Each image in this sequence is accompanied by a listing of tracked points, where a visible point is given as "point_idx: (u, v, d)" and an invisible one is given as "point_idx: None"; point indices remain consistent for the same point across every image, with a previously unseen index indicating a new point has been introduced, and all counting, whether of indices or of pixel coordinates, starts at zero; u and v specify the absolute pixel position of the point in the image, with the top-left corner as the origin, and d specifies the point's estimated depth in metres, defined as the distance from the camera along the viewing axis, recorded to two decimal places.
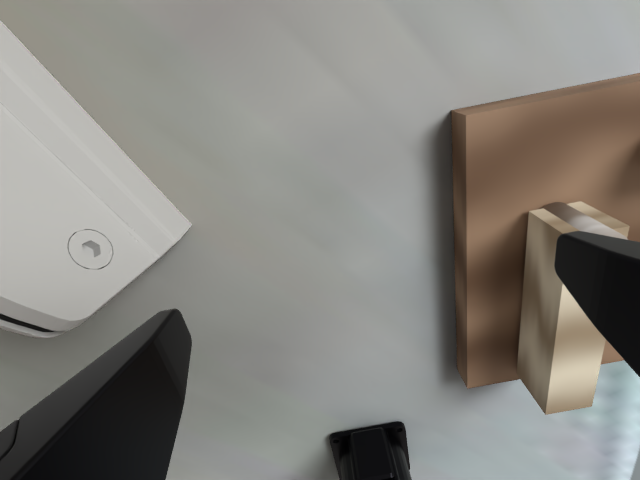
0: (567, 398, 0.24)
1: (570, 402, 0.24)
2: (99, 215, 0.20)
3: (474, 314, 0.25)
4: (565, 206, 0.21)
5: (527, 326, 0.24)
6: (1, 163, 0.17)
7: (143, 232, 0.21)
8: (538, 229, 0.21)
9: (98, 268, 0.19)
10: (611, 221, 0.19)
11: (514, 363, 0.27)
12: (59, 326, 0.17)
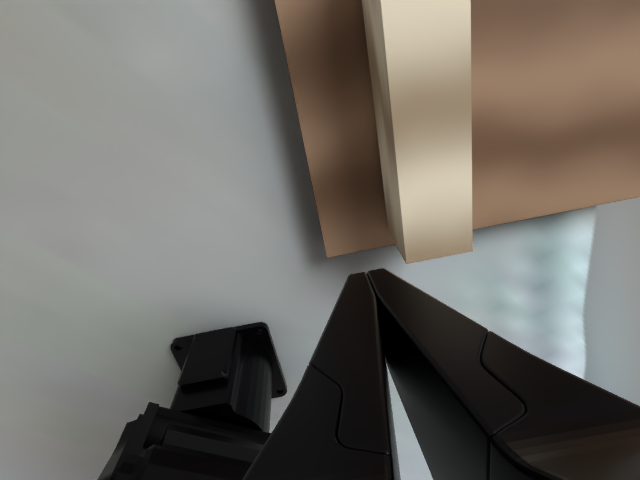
0: (433, 235, 0.16)
1: (439, 242, 0.17)
2: None
3: (311, 130, 0.18)
4: None
5: (381, 139, 0.17)
6: None
7: None
8: None
9: None
10: None
11: (385, 217, 0.20)
12: None
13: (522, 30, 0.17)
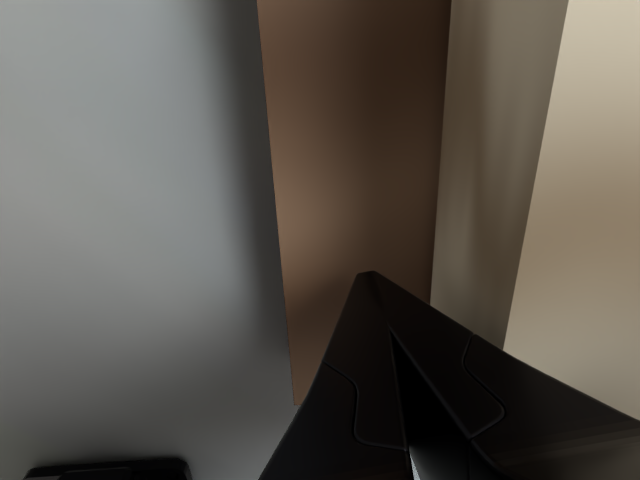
0: None
1: None
2: None
3: (296, 193, 0.09)
4: None
5: (448, 241, 0.08)
6: None
7: None
8: None
9: None
10: None
11: None
12: None
13: None
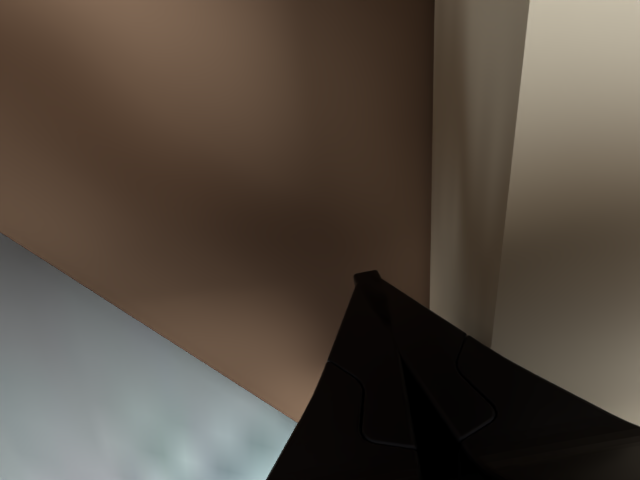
0: None
1: None
2: None
3: None
4: None
5: (441, 239, 0.08)
6: None
7: None
8: None
9: None
10: None
11: (84, 220, 0.09)
12: None
13: None
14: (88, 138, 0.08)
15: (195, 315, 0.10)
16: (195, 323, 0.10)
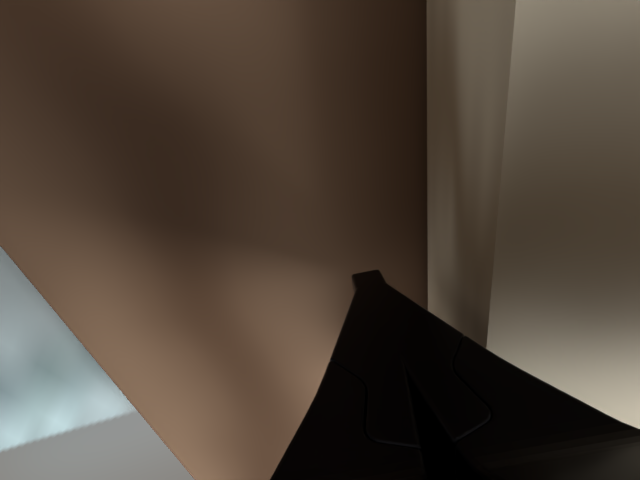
0: None
1: None
2: None
3: None
4: None
5: (438, 240, 0.08)
6: None
7: None
8: None
9: None
10: None
11: None
12: None
13: (382, 191, 0.09)
14: None
15: (2, 177, 0.09)
16: None
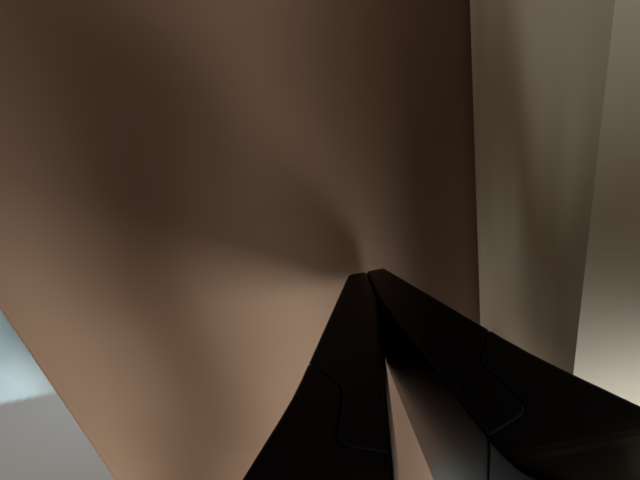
0: None
1: None
2: None
3: None
4: None
5: (494, 242, 0.08)
6: None
7: None
8: None
9: None
10: None
11: None
12: None
13: (363, 179, 0.08)
14: None
15: None
16: None
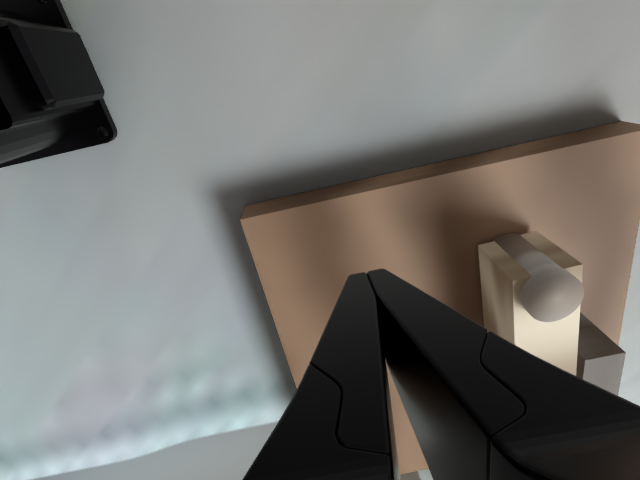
0: None
1: None
2: None
3: (379, 198, 0.18)
4: (517, 239, 0.19)
5: None
6: None
7: None
8: (487, 266, 0.19)
9: None
10: (564, 258, 0.17)
11: (291, 272, 0.20)
12: None
13: None
14: (320, 250, 0.19)
15: (298, 327, 0.21)
16: (295, 330, 0.22)
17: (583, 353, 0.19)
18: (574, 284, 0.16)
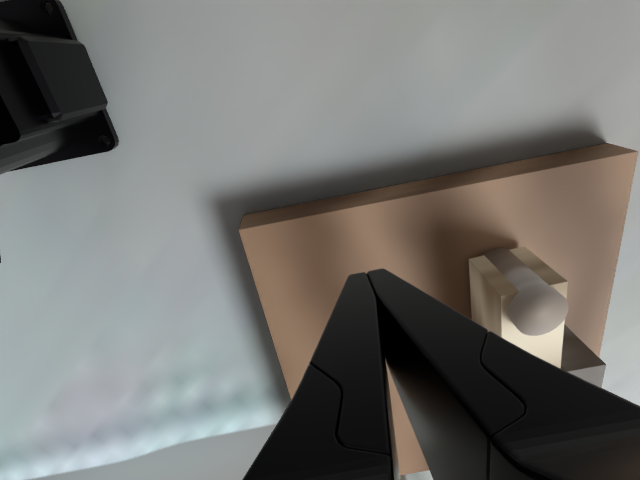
0: None
1: None
2: None
3: (375, 212, 0.19)
4: (506, 254, 0.19)
5: None
6: None
7: None
8: (477, 280, 0.19)
9: None
10: (550, 275, 0.17)
11: (287, 281, 0.20)
12: None
13: None
14: (316, 260, 0.20)
15: (292, 334, 0.22)
16: (289, 337, 0.22)
17: (566, 364, 0.20)
18: (559, 300, 0.17)
